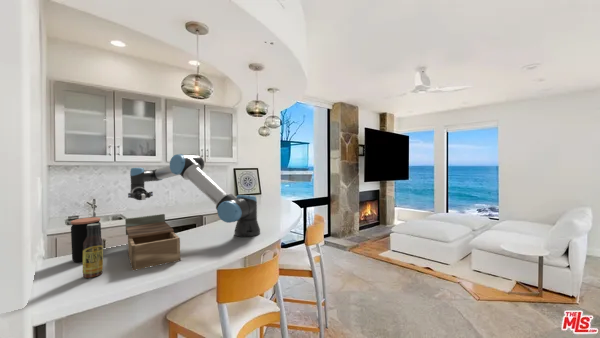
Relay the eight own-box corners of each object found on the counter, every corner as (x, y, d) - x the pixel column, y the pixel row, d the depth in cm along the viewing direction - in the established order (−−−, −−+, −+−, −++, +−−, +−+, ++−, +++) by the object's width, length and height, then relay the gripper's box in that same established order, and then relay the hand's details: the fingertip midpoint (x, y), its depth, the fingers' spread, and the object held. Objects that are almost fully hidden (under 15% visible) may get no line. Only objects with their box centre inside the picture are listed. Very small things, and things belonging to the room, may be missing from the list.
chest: (128, 255, 126) (127, 234, 126) (170, 248, 137) (169, 228, 137) (132, 270, 109) (131, 246, 108) (180, 260, 119) (179, 238, 119)
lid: (125, 234, 139) (125, 218, 139) (164, 228, 149) (164, 214, 149) (129, 245, 119) (128, 227, 119) (173, 238, 129) (173, 221, 129)
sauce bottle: (84, 280, 100) (82, 227, 100) (81, 276, 104) (78, 225, 104) (106, 274, 105) (104, 224, 105) (101, 270, 109) (99, 221, 109)
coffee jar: (104, 253, 130) (102, 216, 130) (99, 260, 121) (97, 220, 120) (76, 257, 126) (74, 218, 125) (68, 265, 116) (66, 223, 116)
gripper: (151, 198, 170) (157, 203, 151) (127, 200, 162) (130, 205, 143) (151, 186, 170) (157, 189, 150) (126, 188, 162) (129, 191, 143)
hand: (143, 197), depth 147 cm, fingers closed
